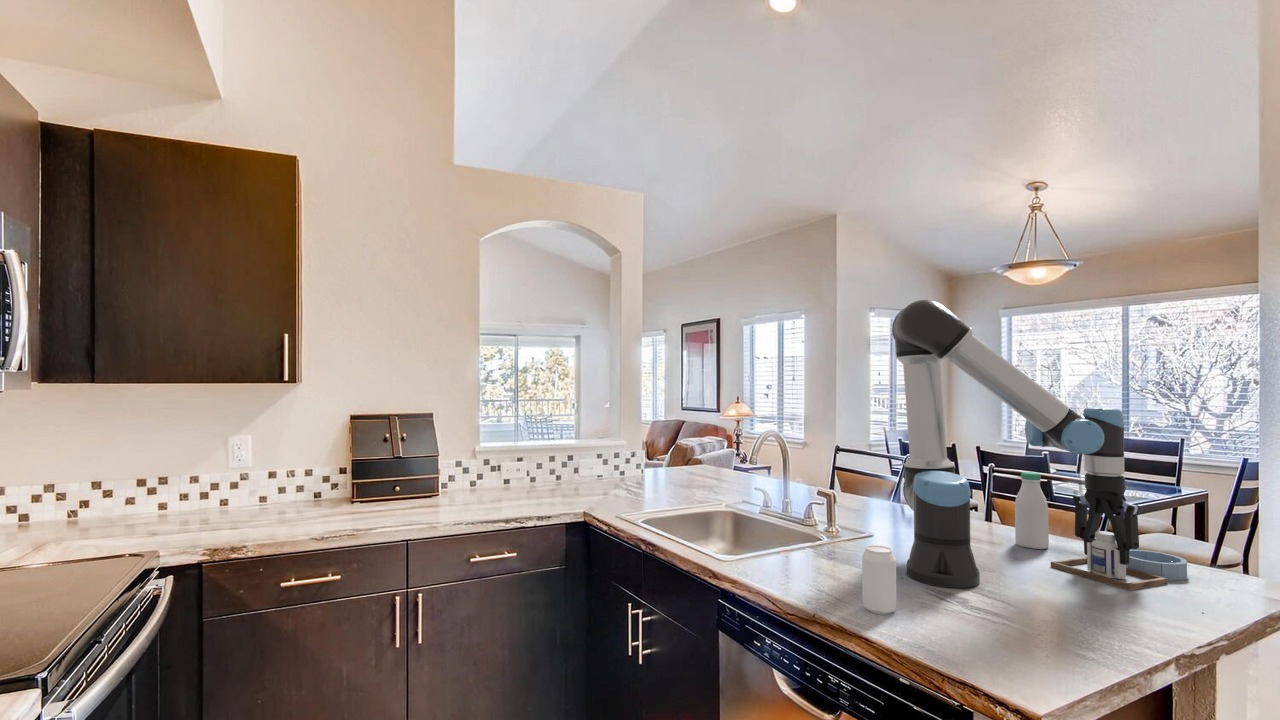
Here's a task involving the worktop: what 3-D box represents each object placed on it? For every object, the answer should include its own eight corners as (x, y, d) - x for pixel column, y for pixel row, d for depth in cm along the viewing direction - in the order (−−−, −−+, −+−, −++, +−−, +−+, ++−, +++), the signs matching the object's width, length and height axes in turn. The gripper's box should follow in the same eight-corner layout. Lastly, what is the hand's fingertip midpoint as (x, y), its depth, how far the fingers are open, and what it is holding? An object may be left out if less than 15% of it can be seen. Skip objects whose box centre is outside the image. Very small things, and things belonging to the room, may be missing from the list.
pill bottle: (1117, 573, 144) (1116, 531, 144) (1124, 580, 139) (1123, 536, 140) (1089, 570, 146) (1088, 529, 147) (1095, 576, 141) (1094, 534, 142)
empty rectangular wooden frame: (1129, 590, 132) (1129, 584, 132) (1050, 566, 149) (1050, 561, 149) (1167, 583, 137) (1167, 578, 137) (1086, 561, 153) (1086, 556, 153)
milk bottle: (1054, 550, 163) (1052, 475, 164) (1022, 549, 165) (1020, 474, 165) (1041, 543, 171) (1040, 471, 171) (1010, 541, 172) (1009, 470, 173)
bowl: (1165, 582, 138) (1165, 566, 138) (1109, 567, 149) (1108, 552, 149) (1199, 576, 142) (1199, 561, 142) (1141, 562, 153) (1141, 547, 153)
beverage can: (894, 618, 116) (893, 554, 116) (860, 612, 119) (859, 550, 119) (898, 608, 121) (897, 547, 122) (865, 602, 124) (864, 542, 125)
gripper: (1159, 478, 136) (1161, 584, 135) (1076, 467, 153) (1078, 561, 153) (1136, 480, 134) (1139, 588, 133) (1054, 469, 151) (1056, 564, 150)
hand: (1106, 573), depth 143 cm, fingers closed on pill bottle, 5 cm apart
